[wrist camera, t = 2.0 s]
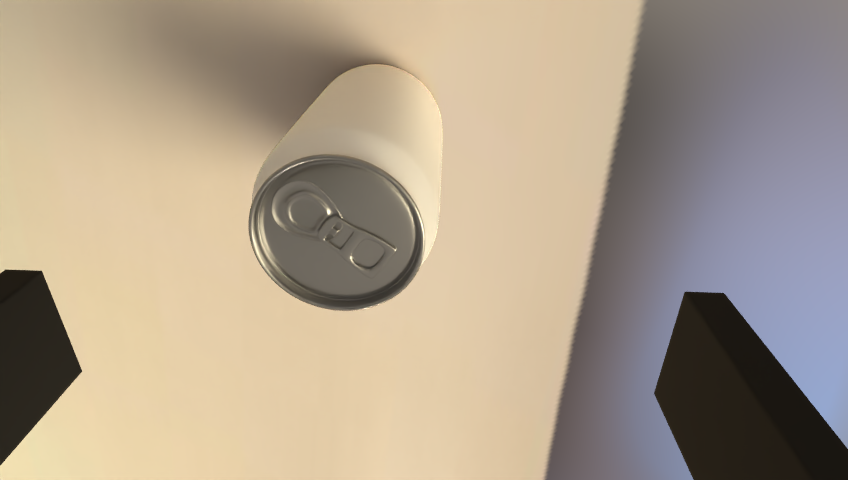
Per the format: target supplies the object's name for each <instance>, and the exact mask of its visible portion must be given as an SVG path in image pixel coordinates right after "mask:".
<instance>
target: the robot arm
mask: <svg viewBox="0 0 848 480" xmlns="http://www.w3.org/2000/svg"><path fill="white" fill-rule="evenodd" d="M81 372H82V370H81V367H80V365H79V362H78V360H77V357H76V355H75V352H74V350H73V347H72V345H71V342H70V340H69V337H68V335H67V332H66V330H65V327H64V325H63V322H62V320H61V318H60V315H59V313H58V310H57V308H56V305H55V303H54V300H53V298H52V295H51V293H50V290H49V288H48V285H47V283H46V280H45V278H44V275H43V273H42V271H30V270H5V271H3V272H2V273H1V274H0V465H1V464H2V463H3V462H4V461H5V459H6V458H7V457H8V456H9V455H10V454H11V453H12V451H13V450H14V449H15V448H16V447H17V446H18V445H19V443H20V442H21V441H22V440H23V439H24V438H25V436H26V435H27V434H28V433H29V432H30V431H31V430H32V428H33V427H34V426H35V425H36V424H37V423H38V421H39V420H40V419H41V418H42V417H43V416H44V415H45V413H46V412H47V411H48V410H49V409H50V408H51V407H52V405H53V404H54V403H55V402H56V401H57V400H58V398H59V397H60V396H61V395H62V394H63V393H64V392H65V390H66V389H67V388H68V387H69V386H70V385H71V383H72V382H73V381H74V380H75V379H76V378H77V377H78V375H79V374H80V373H81ZM654 394H655V396H656V398H657V401H658V403H659V405H660V407H661V410H662V412H663V414H664V416H665V418H666V420H667V423H668V425H669V427H670V429H671V431H672V434H673V435H674V438H675V440H676V442H677V444H678V447H679V449H680V451H681V453H682V455H683V457H684V459H685V462H686V464H687V466H688V468H689V471H690V473H691V475H692V477H693V479H694V480H848V449H847V448H846V446H845V445H844V444H843V443H842V441H841V440H840V439H839V438H838V436H837V435H836V434H835V432H834V431H833V430H832V429H831V427H830V426H829V425H828V424H827V422H826V421H825V420H824V419H823V417H822V416H821V415H820V413H819V412H818V411H817V410H816V408H815V407H814V406H813V405H812V404H811V402H810V401H809V400H808V398H807V397H806V396H805V395H804V393H803V392H802V391H801V390H800V388H799V387H798V386H797V385H796V383H795V382H794V381H793V379H792V378H791V377H790V376H789V374H788V373H787V372H786V371H785V369H784V368H783V367H782V366H781V364H780V363H779V362H778V361H777V359H776V358H775V357H774V356H773V354H772V353H771V352H770V351H769V349H768V348H767V347H766V345H765V344H764V343H763V342H762V340H761V339H760V338H759V337H758V336H757V334H756V333H755V332H754V330H753V329H752V328H751V327H750V325H749V324H748V323H747V322H746V320H745V319H744V318H743V316H742V315H741V314H740V313H739V312H738V310H737V309H736V308H735V306H734V305H733V304H732V303H731V301H730V300H729V299H728V298H727V296H726V295H725V294H724V293H706V292H705V293H704V292H685V293H684V296H683V300H682V303H681V306H680V309H679V313H678V316H677V320H676V323H675V326H674V329H673V333H672V336H671V339H670V343H669V346H668V349H667V352H666V356H665V359H664V362H663V366H662V369H661V372H660V376H659V379H658V382H657V386H656V389H655V392H654Z"/></svg>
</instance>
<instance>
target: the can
mask: <svg viewBox="0 0 848 480" xmlns="http://www.w3.org/2000/svg"><path fill="white" fill-rule="evenodd" d="M442 136H443V131H442V120H441V115H440V111H439V108H438V106H437V103H436V101H435V99H434V97H433V96H432V94H431V93H430V91H429V90H428V89H427V88H426V87H425V85H424V84H423V83H422V82H420V81H419V80H418V79H417V78H416V77H414V76H413V75H411V74H410V73H408V72H406V71H404V70H402V69H399V68H396V67H393V66H389V65H382V64H370V65H363V66H359V67H356V68H353V69H351V70H349V71H347V72H345V73H343V74H341V75H340V76H338V77H337V78H336V79H334V80H333V81H332V82H331V83H330V84H329V85H328V86H327V88H326V89H325V90H324V91H323V92H322V93H321V94H320V95H319V97H318V98H317V99H316V100H315V101H314V102H313V103H312V105H311V106H310V107H309V108H308V109H307V110H306V111H305V113H304V114H303V115H302V116H301V117H300V118H299V119H298V121H297V122H296V123H295V124H294V125H293V126H292V128H291V129H290V130H289V131H288V132H287V133H286V135H285V136H284V137H283V138H282V139H281V141H280V142H279V143H278V144H277V145H276V147H275V148H274V149H273V150H272V152H271V153H270V154H269V156H268V157H267V159H266V160H265V162H264V163H263V165H262V167H261V169H260V171H259V173H258V175H257V178H256V181H255V184H254V189H253V195H252V205H251V209H250V214H249V236H250V241H251V245H252V248H253V251H254V253H255V255H256V258H257V259H258V261H259V263H260V265H261V266H262V268H263V269H264V271H265V272H266V273H267V274H268V276H269V277H270V278H271V279H272V280H273V281H274V282H275V283H276V284H277V285H278V286H279V287H281V288H282V289H283V290H285V291H286V292H287V293H289V294H290V295H292V296H294V297H295V298H297V299H299V300H301V301H303V302H306V303H308V304H311V305H314V306H317V307H321V308H325V309H330V310H340V311H352V310H361V309H366V308H370V307H374V306H377V305H379V304H382V303H384V302H386V301H388V300H390V299H392V298H393V297H395V296H396V295H398V294H399V293H400V292H401V291H402V290H404V289H405V288H406V287H407V286H408V284H409V283H410V282H411V281H412V280H413V278H414V277H415V275H416V273H417V272H418V270H419V268H420V266H421V265H422V264H423V262H424V261H425V259H426V258H427V256H428V255H429V253H430V251H431V249H432V247H433V244H434V241H435V238H436V234H437V230H438V224H439V215H440V197H441V172H442Z"/></svg>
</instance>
